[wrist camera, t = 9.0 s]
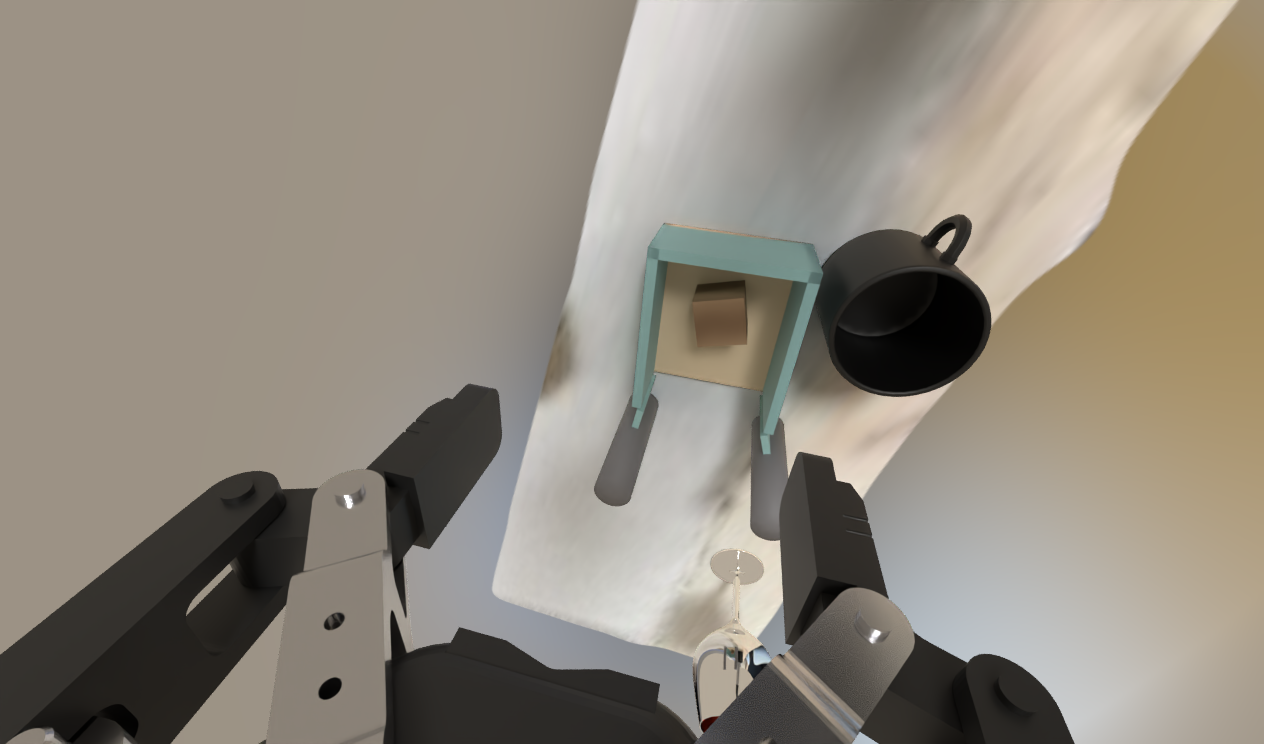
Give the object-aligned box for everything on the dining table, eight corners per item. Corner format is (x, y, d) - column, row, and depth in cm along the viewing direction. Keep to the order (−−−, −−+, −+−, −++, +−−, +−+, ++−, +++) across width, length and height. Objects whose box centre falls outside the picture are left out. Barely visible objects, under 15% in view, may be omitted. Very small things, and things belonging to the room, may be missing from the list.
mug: (1000, 229, 34) (1069, 270, 27) (890, 357, 41) (921, 418, 33) (883, 172, 34) (919, 198, 27) (792, 310, 41) (800, 361, 33)
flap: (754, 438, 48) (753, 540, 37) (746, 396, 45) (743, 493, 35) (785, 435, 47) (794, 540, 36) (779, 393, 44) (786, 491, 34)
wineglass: (771, 546, 56) (777, 717, 41) (772, 591, 60) (777, 762, 45) (701, 541, 58) (682, 701, 43) (706, 584, 62) (690, 745, 47)
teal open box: (664, 222, 39) (648, 247, 34) (812, 244, 38) (823, 273, 32) (647, 366, 47) (631, 406, 41) (771, 389, 45) (773, 435, 39)
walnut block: (697, 284, 41) (692, 302, 37) (745, 280, 40) (744, 297, 36) (702, 326, 43) (697, 347, 39) (747, 323, 42) (747, 344, 38)
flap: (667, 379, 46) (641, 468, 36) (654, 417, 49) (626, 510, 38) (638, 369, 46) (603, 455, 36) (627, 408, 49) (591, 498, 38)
